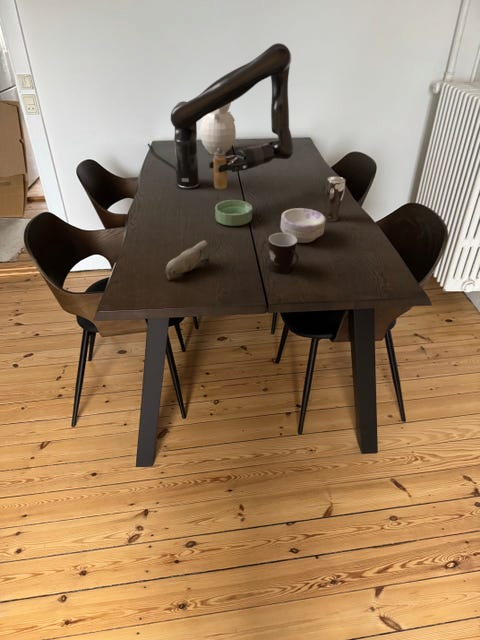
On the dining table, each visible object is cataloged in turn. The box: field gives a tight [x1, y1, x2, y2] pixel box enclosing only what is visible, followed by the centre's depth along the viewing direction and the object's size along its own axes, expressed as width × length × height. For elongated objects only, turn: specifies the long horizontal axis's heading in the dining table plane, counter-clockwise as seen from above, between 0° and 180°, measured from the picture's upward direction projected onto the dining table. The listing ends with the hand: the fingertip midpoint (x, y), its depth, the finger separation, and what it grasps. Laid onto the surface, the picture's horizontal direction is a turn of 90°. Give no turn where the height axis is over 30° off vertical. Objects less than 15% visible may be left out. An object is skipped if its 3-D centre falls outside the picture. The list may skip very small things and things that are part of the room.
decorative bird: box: [165, 240, 210, 281], centre depth 131 cm, size 5×16×8 cm, turn 137°
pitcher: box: [199, 102, 237, 156], centre depth 220 cm, size 19×18×25 cm
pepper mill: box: [212, 148, 228, 190], centre depth 158 cm, size 5×5×14 cm
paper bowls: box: [280, 207, 327, 244], centre depth 149 cm, size 15×15×8 cm
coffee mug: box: [268, 232, 299, 274], centre depth 131 cm, size 12×9×10 cm
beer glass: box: [322, 175, 346, 223], centre depth 160 cm, size 7×7×15 cm
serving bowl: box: [214, 199, 253, 227], centre depth 161 cm, size 14×14×5 cm
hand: (214, 167), depth 156 cm, fingers closed on pepper mill, 5 cm apart
